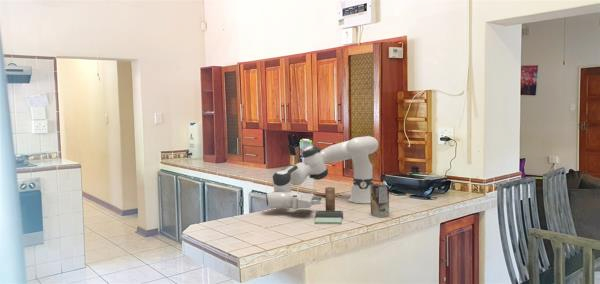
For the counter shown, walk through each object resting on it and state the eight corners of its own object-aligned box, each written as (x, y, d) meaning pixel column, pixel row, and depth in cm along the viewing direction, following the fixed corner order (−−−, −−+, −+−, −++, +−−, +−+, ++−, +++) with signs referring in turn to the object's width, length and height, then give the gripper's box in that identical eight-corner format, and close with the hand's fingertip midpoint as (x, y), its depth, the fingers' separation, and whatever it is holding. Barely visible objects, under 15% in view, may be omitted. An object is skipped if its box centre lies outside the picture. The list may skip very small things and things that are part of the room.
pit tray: (316, 216, 242) (316, 210, 242) (343, 216, 241) (343, 210, 240) (315, 218, 237) (315, 212, 237) (342, 218, 236) (342, 212, 235)
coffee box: (389, 216, 239) (389, 185, 237) (378, 217, 236) (378, 186, 235) (380, 212, 247) (380, 183, 246) (370, 214, 245) (369, 184, 244)
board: (316, 219, 235) (316, 217, 235) (341, 219, 234) (341, 217, 234) (314, 223, 226) (314, 221, 226) (341, 224, 225) (341, 222, 225)
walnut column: (326, 212, 250) (325, 187, 249) (335, 212, 249) (334, 187, 248) (325, 214, 245) (324, 188, 244) (334, 215, 244) (334, 188, 243)
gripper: (297, 201, 259) (322, 202, 257) (293, 210, 238) (319, 210, 237) (297, 190, 258) (322, 190, 257) (293, 198, 238) (319, 198, 236)
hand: (321, 200), depth 247 cm, fingers open, 8 cm apart
